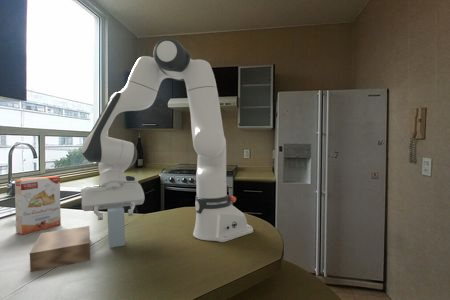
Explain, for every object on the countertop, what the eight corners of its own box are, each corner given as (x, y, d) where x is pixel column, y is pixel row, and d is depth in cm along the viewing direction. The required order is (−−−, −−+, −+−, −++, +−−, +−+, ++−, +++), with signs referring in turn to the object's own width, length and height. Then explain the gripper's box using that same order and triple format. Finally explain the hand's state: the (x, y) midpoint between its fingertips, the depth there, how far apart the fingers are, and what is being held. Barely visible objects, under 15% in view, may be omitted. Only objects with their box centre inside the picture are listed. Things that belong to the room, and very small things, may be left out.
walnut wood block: (89, 239, 90) (89, 225, 90) (89, 259, 74) (89, 242, 74) (41, 248, 83) (41, 233, 83) (30, 272, 68) (29, 253, 67)
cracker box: (22, 235, 96) (20, 180, 96) (15, 232, 99) (13, 179, 99) (61, 225, 108) (60, 176, 108) (54, 223, 111) (53, 175, 111)
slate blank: (123, 240, 89) (122, 206, 89) (125, 245, 85) (124, 209, 85) (108, 243, 87) (107, 208, 87) (109, 248, 83) (108, 211, 82)
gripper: (80, 181, 87) (80, 216, 79) (141, 176, 97) (147, 207, 88) (80, 192, 91) (80, 227, 83) (140, 186, 101) (145, 217, 92)
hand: (116, 217), depth 86 cm, fingers open, 8 cm apart
